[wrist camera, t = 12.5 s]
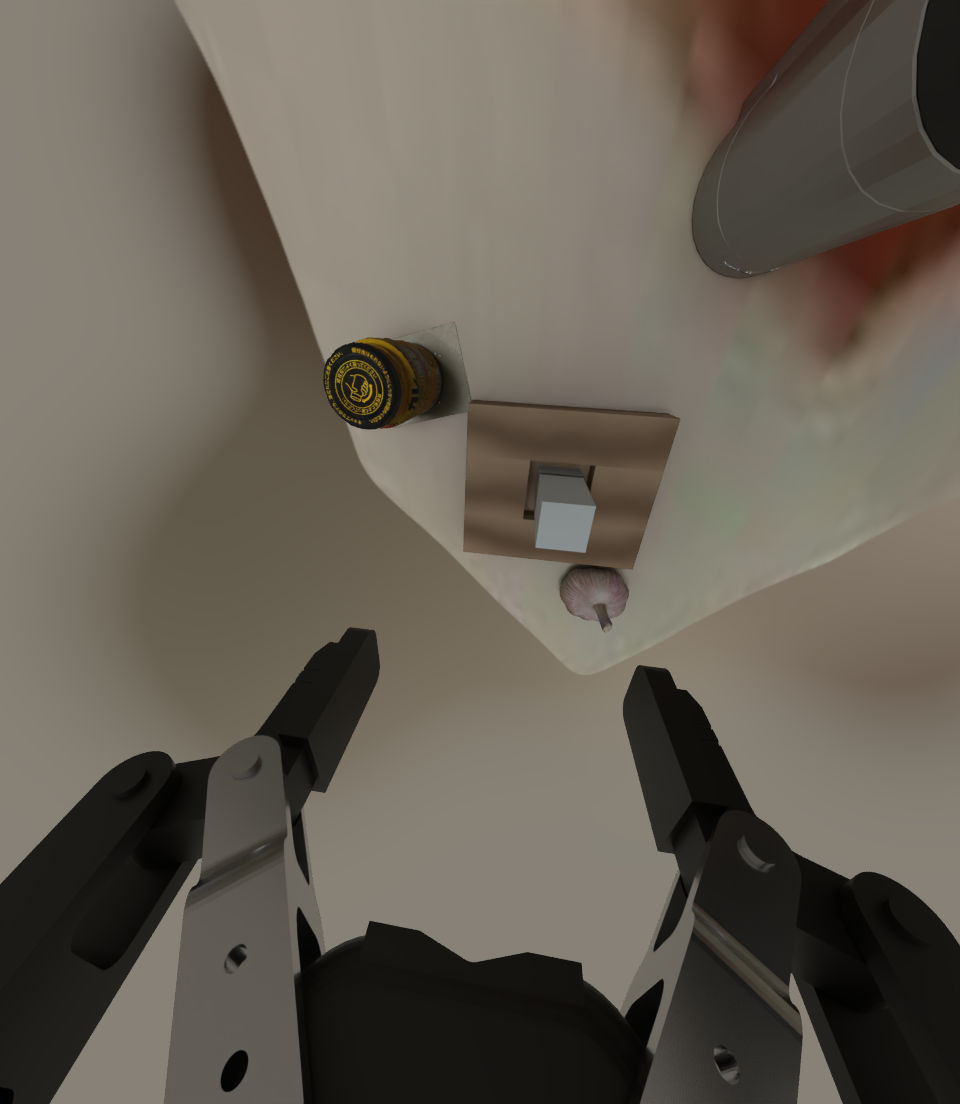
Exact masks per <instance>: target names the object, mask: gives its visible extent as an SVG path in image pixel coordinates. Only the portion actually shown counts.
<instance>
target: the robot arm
mask: <svg viewBox="0 0 960 1104" xmlns="http://www.w3.org/2000/svg"><path fill="white" fill-rule="evenodd" d="M958 204H960V0H829V1H828V2H827V3H826V4H825V6H824V7H823V8H822V9H821V10H820V12H819V13H818V14H817V15H816V16H815V18H814V19H813V20H812V21H811V22H810V23H809V25H808V26H807V27H806V28H805V29H804V31H803V32H802V33H801V34H800V35H799V37H798V38H797V39H796V40H795V41H794V43H793V44H792V45H791V46H790V47H789V48H788V50H787V51H786V52H785V53H784V54H783V56H782V57H781V58H780V59H779V60H778V62H777V63H776V64H775V65H774V66H773V67H772V69H771V70H770V71H769V72H768V73H767V75H766V76H765V77H764V78H763V79H762V81H761V82H760V83H759V84H758V85H757V87H756V88H755V89H754V90H753V91H752V92H751V94H750V95H749V96H748V97H747V98H746V100H745V102H744V105H743V109H742V112H741V115H740V118H739V120H738V122H737V124H736V125H735V126H734V128H733V129H732V130H731V132H730V133H729V134H728V135H727V136H726V138H725V139H724V140H723V141H722V143H721V144H720V145H719V146H718V148H717V150H716V151H715V153H714V154H713V156H712V158H711V159H710V161H709V163H708V164H707V167H706V169H705V171H704V174H703V176H702V178H701V181H700V183H699V186H698V190H697V194H696V197H695V201H694V209H693V219H692V222H693V235H694V239H695V243H696V246H697V250H698V252H699V253H700V255H701V257H702V258H703V260H704V262H705V263H706V264H707V265H708V266H709V267H711V268H712V269H713V270H714V271H716V272H718V273H720V274H722V275H724V276H728V277H734V278H744V277H752V276H756V275H759V274H762V273H766V272H770V271H773V270H776V269H779V268H782V267H784V266H787V265H788V264H791V263H794V262H797V261H800V260H803V259H806V258H808V257H811V256H814V255H817V254H820V253H823V252H825V251H828V250H831V249H834V248H837V247H840V246H842V245H845V244H848V243H851V242H854V241H856V240H859V239H862V238H865V237H868V236H871V235H873V234H876V233H879V232H882V231H885V230H888V229H890V228H893V227H896V226H899V225H902V224H904V223H907V222H910V221H913V220H916V219H919V218H921V217H924V216H927V215H930V214H933V213H936V212H938V211H941V210H944V209H947V208H950V207H952V206H955V205H958ZM379 670H380V662H379V654H378V646H377V638H376V633H375V631H374V630H368V629H360V628H352V627H351V628H348V629H347V631H346V632H345V634H344V635H343V636H342V638H341V639H340V641H339V642H338V643H334V642H329V643H328V644H327V645H325V646H324V647H323V648H321V649H320V650H319V651H317V652H316V653H315V654H314V655H313V657H312V658H311V659H310V661H309V662H308V663H307V665H306V666H305V667H304V671H302V672H301V673H300V674H299V676H298V677H297V679H296V681H295V683H293V684H292V685H291V687H290V688H289V690H288V691H287V692H286V694H285V695H284V697H283V698H282V699H281V701H280V702H279V704H278V705H277V706H276V708H275V709H274V710H273V712H272V713H271V715H270V716H269V717H268V719H267V720H266V721H265V723H264V724H263V726H262V727H261V728H260V730H259V731H258V732H257V733H256V734H255V735H254V736H253V737H249V738H246V739H244V740H241V741H239V742H238V743H236V744H234V745H233V746H231V747H230V748H228V749H227V750H226V751H225V752H224V753H223V754H222V755H221V756H217V757H213V758H208V759H201V760H195V761H190V762H184V763H178V764H174V762H173V760H172V759H171V757H170V756H169V755H168V754H166V753H164V752H160V751H152V752H146V753H142V754H139V755H137V756H134V757H132V758H130V759H127V760H126V761H124V762H122V763H121V764H119V765H117V766H116V767H114V768H113V769H112V770H110V771H109V772H108V773H107V774H105V775H104V776H103V777H102V778H101V779H100V780H99V782H97V783H96V784H95V785H94V787H93V788H92V789H91V790H90V791H89V792H88V793H87V794H86V795H85V796H84V797H83V798H82V799H81V800H80V801H79V802H78V803H77V804H76V805H75V806H74V808H73V809H72V810H71V811H70V812H69V813H68V814H67V815H66V816H65V817H64V818H63V819H62V820H61V821H60V822H59V823H58V824H57V825H56V826H55V828H54V829H53V830H52V831H51V832H50V833H49V834H48V835H47V836H46V837H45V838H44V839H43V840H42V841H41V842H40V843H39V844H38V845H37V846H36V847H35V848H34V849H33V850H32V852H31V853H30V854H29V855H28V856H27V857H26V858H25V859H24V860H23V861H22V862H21V863H20V864H19V865H18V866H17V867H16V868H15V869H14V870H13V872H12V873H11V874H10V875H9V876H8V877H7V878H6V879H5V880H4V881H3V882H2V883H1V884H0V1104H50V1102H51V1100H52V1098H53V1097H54V1095H55V1094H56V1092H57V1090H58V1089H59V1087H60V1085H61V1084H62V1082H63V1081H64V1079H65V1077H66V1076H67V1074H68V1072H69V1071H70V1069H71V1067H72V1066H73V1064H74V1062H75V1061H76V1059H77V1058H78V1056H79V1054H80V1053H81V1051H82V1049H83V1048H84V1046H85V1044H86V1043H87V1041H88V1039H89V1038H90V1036H91V1034H92V1033H93V1031H94V1029H95V1028H96V1026H97V1025H98V1023H99V1021H100V1020H101V1018H102V1016H103V1015H104V1013H105V1012H106V1010H107V1008H108V1006H109V1005H110V1003H111V1002H112V1000H113V998H114V997H115V995H116V993H117V992H118V990H119V989H120V987H121V985H122V983H123V982H124V980H125V979H126V977H127V975H128V974H129V972H130V970H131V969H132V967H133V965H134V964H135V962H136V960H137V959H138V957H139V956H140V954H141V952H142V951H143V949H144V947H145V946H146V944H147V942H148V941H149V939H150V937H151V936H152V934H153V933H154V931H155V929H156V928H157V926H158V924H159V923H160V921H161V919H162V918H163V916H164V915H165V913H166V911H167V910H168V908H169V906H170V905H171V903H172V901H173V900H174V898H175V896H176V895H177V893H178V891H179V890H180V888H181V886H182V885H183V883H184V882H185V880H186V878H187V877H188V875H189V873H190V872H191V870H192V869H193V867H194V865H195V864H196V862H197V860H198V859H200V858H202V865H201V874H200V879H199V882H198V883H197V885H195V886H194V887H192V888H191V890H190V892H189V893H188V896H187V899H186V903H185V908H184V915H183V924H182V935H181V943H180V953H179V963H178V973H177V982H176V992H175V1002H174V1011H173V1021H172V1031H171V1041H170V1051H169V1060H168V1070H167V1079H166V1089H165V1099H164V1104H797V1097H798V1086H799V1074H800V1063H801V1052H802V1038H803V1033H802V1021H801V1016H800V1013H799V1010H798V1009H797V1007H796V1006H795V1005H794V1004H792V1002H791V1000H790V997H789V982H790V974H791V973H792V974H793V976H794V978H795V981H796V984H797V986H798V989H799V991H800V994H801V996H802V999H803V1002H804V1005H805V1007H806V1010H807V1012H808V1015H809V1017H810V1020H811V1023H812V1025H813V1028H814V1030H815V1033H816V1035H817V1038H818V1041H819V1043H820V1046H821V1048H822V1051H823V1053H824V1056H825V1059H826V1061H827V1064H828V1067H829V1069H830V1071H831V1074H832V1077H833V1079H834V1082H835V1085H836V1087H837V1090H838V1092H839V1095H840V1098H841V1100H842V1102H843V1104H960V945H959V944H958V942H957V941H956V939H955V938H954V936H953V935H952V933H951V932H950V931H949V930H948V928H947V927H946V925H945V924H944V923H943V922H942V921H941V919H940V918H939V917H938V916H937V915H936V914H935V913H934V912H933V911H932V910H931V909H930V908H929V907H928V906H927V905H926V904H925V903H924V902H923V901H922V900H921V899H920V898H918V897H917V896H916V895H915V894H913V893H912V892H911V891H910V890H908V889H907V888H905V887H904V886H902V885H901V884H899V883H898V882H896V881H894V880H892V879H891V878H888V877H886V876H884V875H881V874H878V873H874V872H862V873H860V874H858V875H856V876H855V877H853V878H852V879H848V878H846V877H844V876H842V875H839V874H837V873H835V872H833V871H831V870H829V869H827V868H825V867H822V866H821V865H819V864H816V863H814V862H812V861H810V860H808V859H806V858H804V857H802V856H800V855H798V854H796V853H795V852H793V851H792V850H791V849H790V848H789V846H788V845H787V843H786V842H785V841H784V839H783V838H782V837H781V836H780V835H779V834H778V833H777V832H776V831H775V830H774V829H773V828H772V827H771V826H769V825H768V824H767V823H765V822H764V821H762V820H761V819H759V818H758V817H757V816H756V815H755V814H754V812H753V810H752V808H751V806H750V804H749V802H748V800H747V798H746V796H745V794H744V792H743V790H742V788H741V786H740V784H739V782H738V780H737V778H736V776H735V774H734V772H733V770H732V768H731V766H730V764H729V762H728V760H727V757H726V756H725V753H724V752H723V749H722V747H721V746H719V744H718V739H717V737H716V735H715V733H714V731H713V730H712V729H711V725H710V723H709V721H708V719H707V717H706V715H705V713H704V711H703V709H702V707H701V706H700V705H699V704H698V702H697V701H696V700H695V699H694V698H693V697H692V696H691V695H690V694H689V693H688V691H687V690H681V689H677V688H676V685H675V683H674V681H673V678H672V676H671V674H670V672H669V671H668V670H667V669H665V668H657V667H649V666H642V665H639V666H637V668H636V670H635V672H634V675H633V677H632V680H631V682H630V685H629V688H628V690H627V693H626V695H625V698H624V703H623V717H624V722H625V726H626V730H627V734H628V738H629V741H630V745H631V749H632V753H633V757H634V760H635V765H636V769H637V772H638V776H639V780H640V784H641V788H642V792H643V795H644V799H645V803H646V807H647V811H648V815H649V819H650V822H651V826H652V830H653V834H654V838H655V842H656V846H657V849H658V851H660V852H666V853H672V854H675V857H676V860H677V863H678V867H679V870H678V871H677V873H676V876H675V878H674V881H673V884H672V887H671V889H670V892H669V894H668V897H667V900H666V903H665V905H664V908H663V911H662V913H661V916H660V919H659V921H658V924H657V927H656V930H655V932H654V935H653V938H652V940H651V943H650V946H649V948H648V951H647V953H646V955H645V958H644V960H643V962H642V963H641V965H640V967H639V969H638V971H637V972H636V974H635V976H634V979H633V981H632V983H631V985H630V987H629V990H628V992H627V995H626V997H625V1000H624V1003H623V1005H622V1008H621V1011H620V1012H619V1011H618V1009H617V1008H616V1007H615V1006H614V1005H613V1004H612V1003H611V1002H610V1001H609V1000H608V999H607V998H606V997H605V996H604V995H603V994H601V993H600V992H599V991H598V990H597V989H596V988H594V987H593V986H591V984H589V983H587V982H586V981H584V980H583V977H582V976H583V975H582V964H581V963H579V962H574V961H568V960H564V959H559V958H554V957H549V956H544V955H539V954H534V953H529V952H526V953H521V954H516V955H511V956H506V957H501V958H495V959H491V960H485V961H480V962H469V961H466V960H465V959H463V958H462V957H460V956H459V955H457V954H455V953H454V952H452V951H451V950H449V949H447V948H446V947H444V946H443V945H441V944H440V943H438V942H436V941H435V940H433V939H432V938H430V937H429V936H427V935H426V934H424V933H422V932H421V931H418V930H413V929H408V928H403V927H398V926H393V925H388V924H383V923H378V922H373V921H370V922H369V925H368V928H367V932H366V935H365V936H360V937H357V938H354V939H351V940H348V941H346V942H343V943H342V944H340V945H338V946H336V947H334V948H332V949H331V950H329V951H328V952H325V944H324V937H323V930H322V924H321V918H320V913H319V909H318V904H317V900H316V896H315V891H314V885H313V878H312V871H311V863H310V855H309V847H308V839H307V831H306V824H305V816H304V809H303V806H304V804H305V802H306V800H307V798H308V796H309V794H310V792H311V791H317V792H323V793H325V792H326V790H327V788H328V786H329V783H330V781H331V779H332V777H333V775H334V773H335V770H336V768H337V766H338V764H339V762H340V760H341V758H342V756H343V753H344V751H345V749H346V747H347V745H348V743H349V741H350V738H351V736H352V734H353V732H354V729H355V728H356V726H357V724H358V721H359V719H360V717H361V715H362V713H363V711H364V709H365V707H366V704H367V702H368V700H369V698H370V696H371V694H372V692H373V689H374V687H375V685H376V683H377V680H378V676H379Z"/></svg>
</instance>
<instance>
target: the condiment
mask: <svg viewBox="0 0 960 1104" xmlns="http://www.w3.org/2000/svg"><path fill="white" fill-rule="evenodd" d="M434 352H435V353H437V355H435V354H434ZM438 354H439V355H441V357H439V356H438ZM323 381H324V388H325V392H326V394H327V398H328V401H329V403H330V405H331V406H332V408H333V409H334V410H335V412H336V413H337V414H338V415H339V416H340V417H341V418H342V419H344V420H345V421H346V422H348V423H349V424H350V425H351V426H355V427H357V428H361V429H378V428H381V429H382V428H391V427H392V428H394V427H399V426H403V425H407V424H412V423H416V422H421V421H425V420H430V419H435V418H440V417H444V416H449V415H453V414H458V413H462V412H467V411H468V403H470V402H471V398H470V394H469V389H468V385H467V379H466V374H465V370H464V365H463V359H462V355H461V351H460V346H459V341H458V337H457V332H456V327H455V323H454V322H453V323H450V324H446V325H442V326H439V327H435V328H432V329H429V330H425V331H421V332H418V333H414V334H411V335H407V336H404V337H400V338H396V339H393V340H391V339H389V338H383V339H382V338H365V339H362V340H359V341H356V342H353V343H349V344H347V345H346V344H345V345H343V346H341V347H340V348H338V349H336V350H335V351H334V353H333V354H332V356H331V357H330V358H329V359H328V360H327V362H326V364H325V368H324V380H323ZM439 402H440V403H439Z"/></svg>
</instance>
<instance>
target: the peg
mask: <svg viewBox="0 0 960 1104" xmlns="http://www.w3.org/2000/svg"><path fill="white" fill-rule="evenodd" d="M595 509H596V505H595V503H594V501H593V498H592V496H591V494H590V492H589V489H588V487H587V485H586V483H585V480H584V476H582V474H581V471H580V469H573V468H561V467H549V466H539V471H538V478H537V485H536V493H535V500H534V516H535V548H544V549H553V550H563V551H573V552H582V553H585V552H586V548H587V544H588V539H589V535H590V531H591V526H592V522H593V518H594V513H595Z"/></svg>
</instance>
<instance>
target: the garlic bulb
mask: <svg viewBox="0 0 960 1104" xmlns="http://www.w3.org/2000/svg"><path fill="white" fill-rule="evenodd" d="M560 597H561V599H562V601H563V602H564V603H565V605H566V608H567V610H568V611H569V613H571V614H572V615H574V616H578V617H580V618H582V619H584V620H595V621H599V622H600V624H601V627H602V630H603V632H605V633H606V632H609V631H610V630H611V627H612V623H611V621H610V618H613V617H616V616H618V615H620V614H621V613H622V612H623V611H624V609H625V606H626V602H627V599H628V597H629V590H628V588H627V586H626V585H625V584H624V583H623V579H622V577H621V576H620V575H619V574H618V573H617V572H615V571H613V570H610V569H603V570H597V569H594V568H589V569H580V568H578V569H574V570H572V571H570V572H569V574H568V576H567V577H566V579H565V580H564V581H563V582H562V583H561V586H560Z"/></svg>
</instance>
